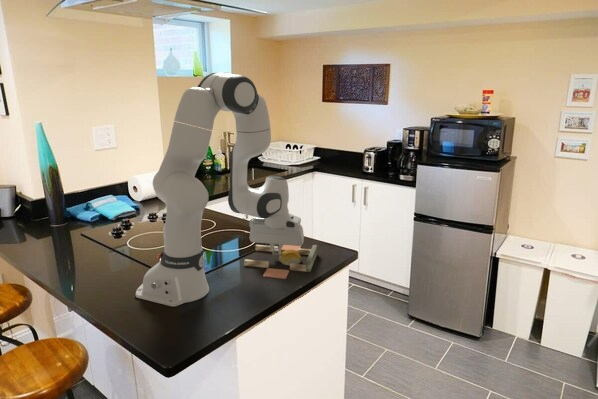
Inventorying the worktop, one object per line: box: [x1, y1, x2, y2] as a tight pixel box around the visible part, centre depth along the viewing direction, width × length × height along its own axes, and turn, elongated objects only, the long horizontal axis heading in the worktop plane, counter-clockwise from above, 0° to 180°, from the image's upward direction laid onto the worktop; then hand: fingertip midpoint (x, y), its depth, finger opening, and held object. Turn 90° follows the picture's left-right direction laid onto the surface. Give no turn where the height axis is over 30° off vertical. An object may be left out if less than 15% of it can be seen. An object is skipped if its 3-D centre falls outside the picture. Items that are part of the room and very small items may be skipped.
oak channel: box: [243, 244, 318, 273], centre depth 156 cm, size 24×15×4 cm, turn 79°
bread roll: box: [278, 250, 303, 267], centre depth 155 cm, size 8×9×4 cm
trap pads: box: [262, 245, 302, 280], centre depth 157 cm, size 8×29×1 cm, turn 169°
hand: (276, 254), depth 157 cm, fingers closed
